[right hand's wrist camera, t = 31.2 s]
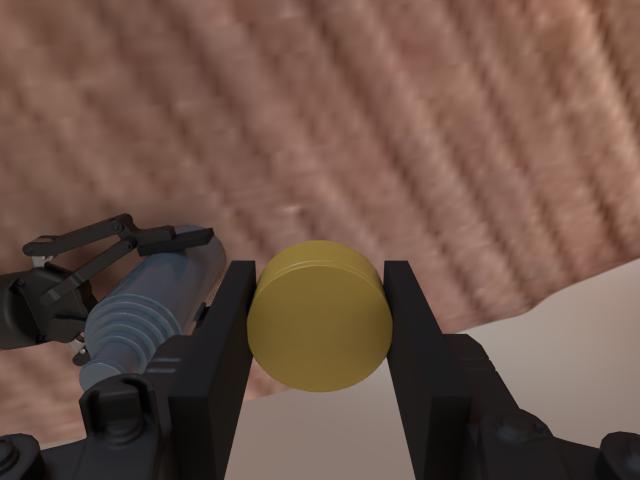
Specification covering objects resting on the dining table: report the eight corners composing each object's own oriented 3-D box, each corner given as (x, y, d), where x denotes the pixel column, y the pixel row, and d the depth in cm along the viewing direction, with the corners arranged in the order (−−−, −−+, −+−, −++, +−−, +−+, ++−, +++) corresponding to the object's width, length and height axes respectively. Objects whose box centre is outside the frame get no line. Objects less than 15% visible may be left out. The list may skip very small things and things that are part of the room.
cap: (363, 365, 16) (368, 405, 14) (244, 338, 15) (233, 376, 13) (401, 257, 14) (413, 285, 12) (271, 225, 14) (263, 248, 12)
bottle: (145, 258, 49) (22, 386, 29) (185, 211, 47) (83, 311, 27) (199, 299, 51) (118, 445, 31) (239, 254, 49) (182, 379, 29)
